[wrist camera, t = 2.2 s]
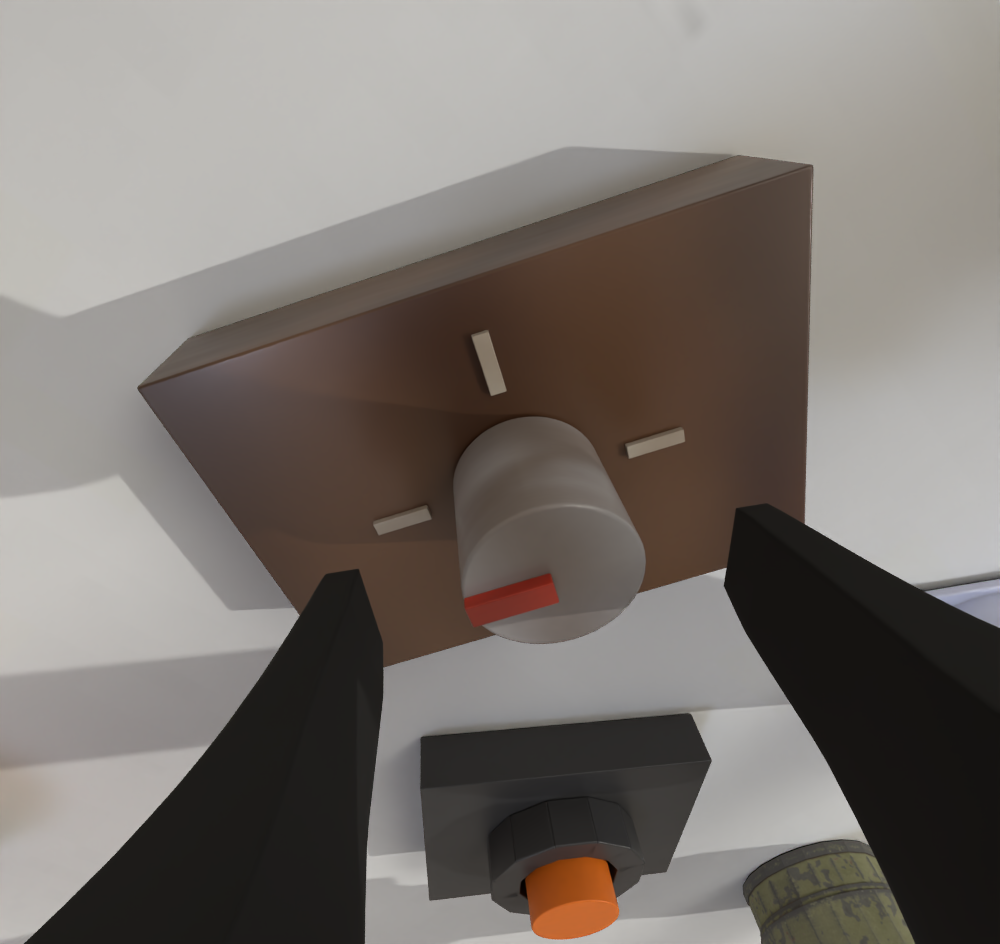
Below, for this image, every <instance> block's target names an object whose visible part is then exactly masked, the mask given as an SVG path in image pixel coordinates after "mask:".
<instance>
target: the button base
mask: <svg viewBox="0 0 1000 944" xmlns="http://www.w3.org/2000/svg"><path fill="white" fill-rule="evenodd" d="M711 761H712V760H711V758H710V756H709V753H708V751H707V749H706V747H705V744H704V742H703V740H702V738H701V735H700V733H699V731H698V729H697V726H696V724H695V722H694V720H693V717H692V715H691V714H683V715H672V716H661V717H649V718H638V719H626V720H615V721H604V722H592V723H581V724H570V725H558V726H547V727H535V728H524V729H513V730H501V731H490V732H479V733H467V734H456V735H444V736H433V737H422V738H421V785H420V789H421V801H422V814H423V826H424V839H425V851H426V863H427V876H428V888H429V900H430V901H431V900H440V899H448V898H456V897H464V896H473V895H481V894H489V893H491V898H492V901H494V902H495V903H497V904H498V905H500V906H501V907H503V908H504V909H506V910H507V911H509V912H513V913H521V914H529V915H530V912H529V905H528V897H527V890H526V882H525V878H526V877H527V876H528V875H529V874H530V873H532V872H533V871H534V870H535V869H537V868H539V867H542V866H545V865H547V864H550V863H552V862H555V861H558V860H563V859H572V858H580V857H590V858H596V859H601V860H606V862H607V864H608V867H609V871H610V875H611V879H612V883H613V887H614V891H615V895H616V898H617V897H619V896H620V895H621V894H623V893H624V892H625V891H627V890H628V889H630V888H631V887H632V886H634V885H635V884H636V883H638V882H639V880H640V877H641V875H646V874H654V873H663V872H666V871H667V869H668V866H669V864H670V861H671V859H672V857H673V854H674V852H675V849H676V847H677V844H678V842H679V839H680V837H681V835H682V832H683V830H684V827H685V825H686V822H687V820H688V817H689V815H690V813H691V810H692V808H693V805H694V803H695V800H696V798H697V795H698V793H699V791H700V788H701V786H702V783H703V781H704V778H705V776H706V773H707V771H708V769H709V766H710V764H711Z"/></svg>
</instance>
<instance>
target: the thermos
mask: <svg viewBox="0 0 1000 944" xmlns="http://www.w3.org/2000/svg"><path fill="white" fill-rule="evenodd" d="M743 894H744V896H745V899H746V901H747V904H748V905H749V906H750V908H751V910H752V913H753V915H754V917H755V920H756V922H757V925H758V927H759V930H760V936H761V944H915V942H914V940H913V938H912V935H911V933H910V931H909V929H908V927H907V924H906V922H905V920H904V918H903V916H902V913H901V911H900V909H899V907H898V905H897V902H896V900H895V898H894V896H893V894H892V891H891V889H890V887H889V885H888V883H887V880H886V878H885V876H884V874H883V872H882V870H881V868H880V866H879V864H878V862H877V860H876V858H875V856H874V854H873V852H872V850H871V848H870V846H869V845H866V844H864V843H862V842H859V841H847V840H839V841H830V842H821V843H817V844H813V845H809V846H805V847H801V848H798V849H796V850H793V851H791V852H788V853H785V854H783V855H780V856H778V857H776V858H775V859H773V860H771V861H769V862H767V863H766V864H764V865H762V866H761V867H760V868H758V869H757V870H756V871H755V872H753V873H752V874H751V875H750V876H749V877H748V879H747V880H746V882H745V883H744V885H743Z"/></svg>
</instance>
